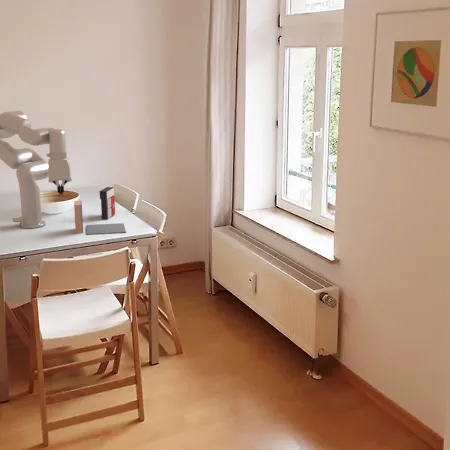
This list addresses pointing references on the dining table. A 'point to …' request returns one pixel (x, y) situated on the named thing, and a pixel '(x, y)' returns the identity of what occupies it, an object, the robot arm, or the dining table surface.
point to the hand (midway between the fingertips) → (61, 193)
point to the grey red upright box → (107, 202)
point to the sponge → (78, 216)
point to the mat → (106, 228)
